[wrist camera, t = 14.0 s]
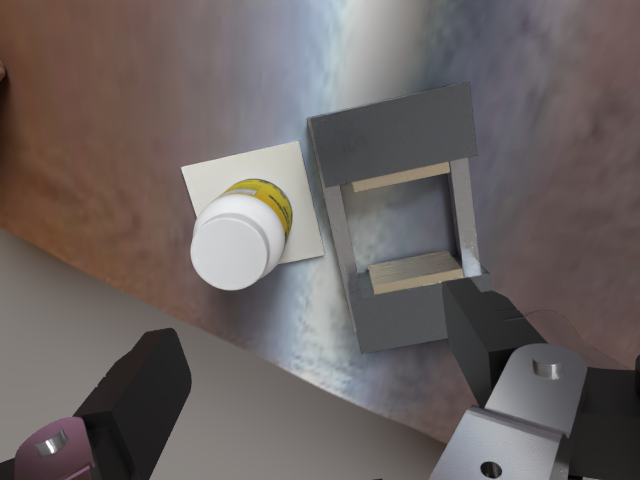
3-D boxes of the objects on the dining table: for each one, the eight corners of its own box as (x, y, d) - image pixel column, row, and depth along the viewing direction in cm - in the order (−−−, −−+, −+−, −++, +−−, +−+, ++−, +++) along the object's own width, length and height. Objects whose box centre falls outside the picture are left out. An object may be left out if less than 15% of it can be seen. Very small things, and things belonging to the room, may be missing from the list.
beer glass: (526, 382, 41) (632, 529, 27) (489, 332, 39) (581, 461, 25) (591, 344, 40) (740, 478, 25) (555, 291, 38) (693, 402, 24)
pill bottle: (298, 243, 36) (286, 298, 26) (228, 250, 37) (188, 307, 26) (288, 172, 34) (271, 200, 24) (215, 180, 35) (166, 211, 24)
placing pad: (183, 166, 35) (180, 167, 35) (299, 140, 34) (298, 141, 34) (217, 274, 38) (215, 276, 37) (324, 252, 37) (324, 255, 37)
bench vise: (307, 117, 34) (304, 119, 29) (454, 84, 33) (475, 80, 28) (353, 324, 39) (356, 354, 35) (479, 301, 38) (500, 328, 34)
